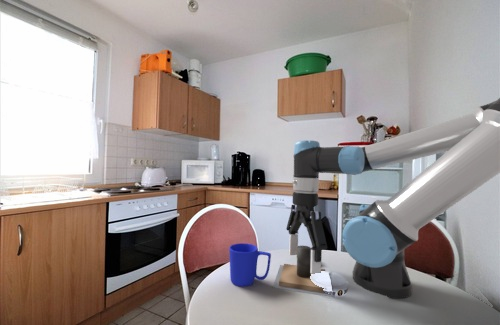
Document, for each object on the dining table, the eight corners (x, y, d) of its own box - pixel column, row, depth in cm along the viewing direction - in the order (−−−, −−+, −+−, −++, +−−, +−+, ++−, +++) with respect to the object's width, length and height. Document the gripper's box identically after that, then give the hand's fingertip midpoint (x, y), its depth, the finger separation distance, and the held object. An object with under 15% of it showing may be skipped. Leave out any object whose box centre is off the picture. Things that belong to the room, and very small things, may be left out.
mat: (329, 273, 74) (329, 271, 74) (334, 299, 58) (334, 297, 59) (280, 266, 78) (280, 265, 78) (272, 289, 63) (272, 287, 63)
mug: (268, 293, 60) (269, 255, 61) (224, 287, 63) (225, 250, 63) (271, 279, 68) (272, 245, 69) (232, 274, 71) (233, 242, 71)
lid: (325, 273, 73) (325, 243, 73) (327, 293, 60) (328, 258, 61) (284, 267, 76) (284, 239, 77) (278, 285, 64) (279, 252, 64)
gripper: (278, 188, 80) (276, 249, 80) (316, 196, 56) (314, 284, 56) (297, 188, 82) (295, 248, 82) (342, 196, 58) (340, 281, 58)
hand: (303, 263), depth 69 cm, fingers open, 13 cm apart
